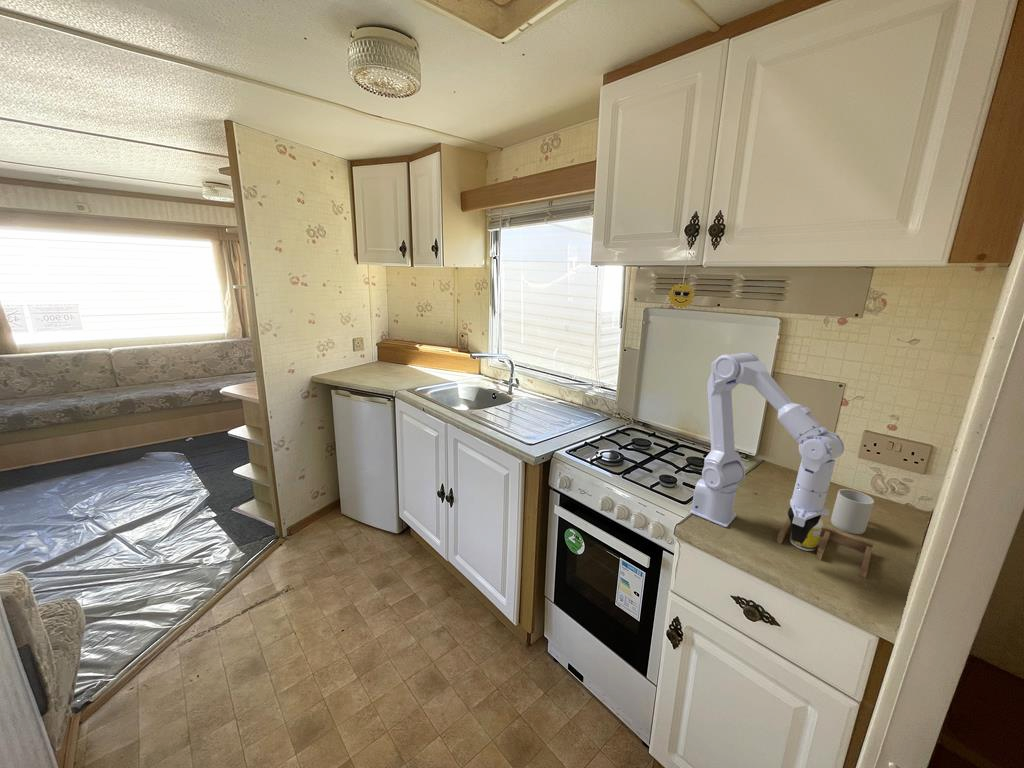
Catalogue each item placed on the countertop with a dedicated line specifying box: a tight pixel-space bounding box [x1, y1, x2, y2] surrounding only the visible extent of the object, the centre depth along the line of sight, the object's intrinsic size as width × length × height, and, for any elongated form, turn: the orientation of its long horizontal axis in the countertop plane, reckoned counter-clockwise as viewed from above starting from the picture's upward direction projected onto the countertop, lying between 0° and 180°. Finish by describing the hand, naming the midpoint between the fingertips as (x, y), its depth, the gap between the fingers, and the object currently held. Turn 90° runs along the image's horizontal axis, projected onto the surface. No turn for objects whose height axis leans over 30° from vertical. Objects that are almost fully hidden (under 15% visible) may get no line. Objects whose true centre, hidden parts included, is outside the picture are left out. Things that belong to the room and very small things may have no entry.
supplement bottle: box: [789, 515, 824, 552], centre depth 100 cm, size 5×5×10 cm
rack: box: [776, 516, 874, 579], centre depth 100 cm, size 17×12×2 cm
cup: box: [830, 488, 875, 535], centre depth 109 cm, size 7×10×9 cm
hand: (797, 540), depth 94 cm, fingers closed
